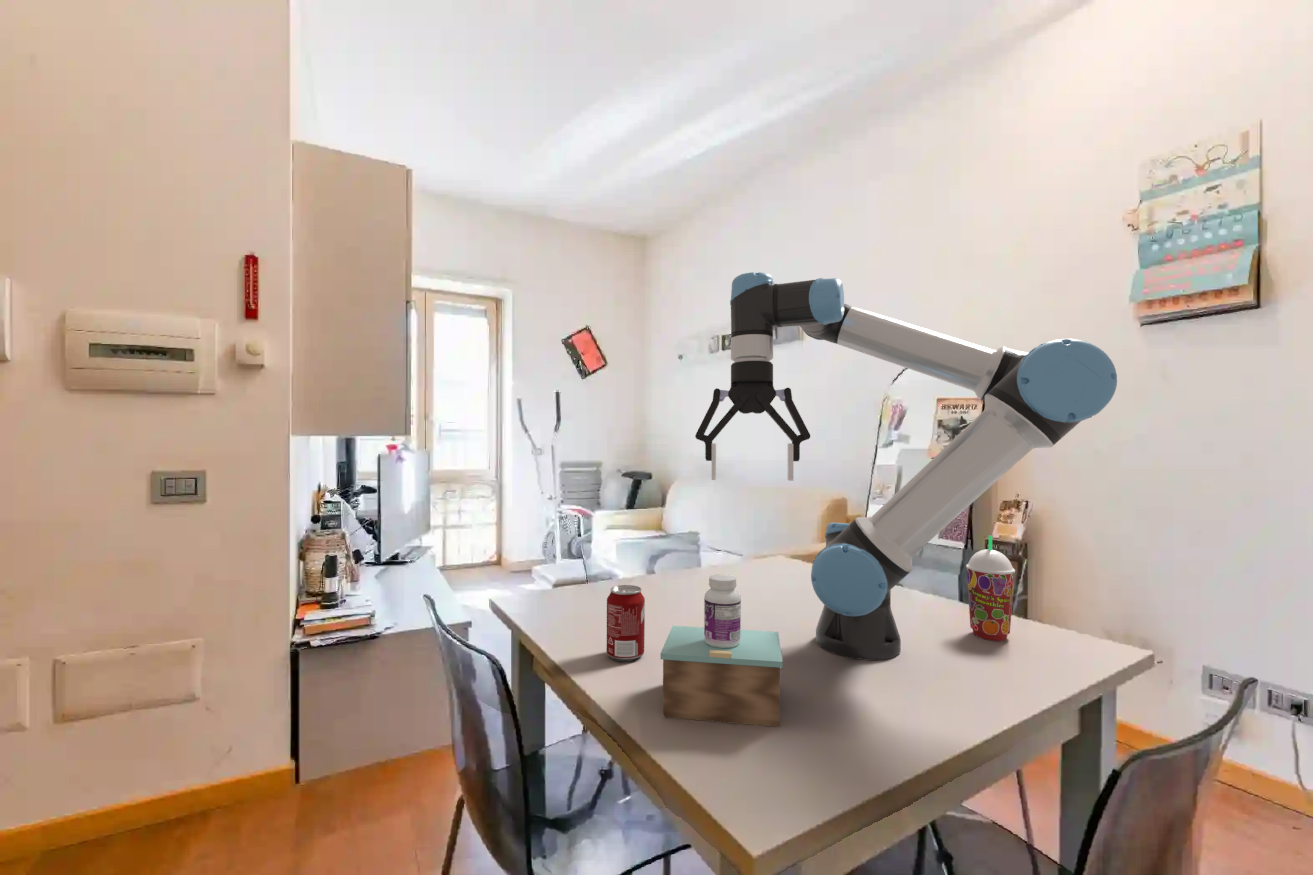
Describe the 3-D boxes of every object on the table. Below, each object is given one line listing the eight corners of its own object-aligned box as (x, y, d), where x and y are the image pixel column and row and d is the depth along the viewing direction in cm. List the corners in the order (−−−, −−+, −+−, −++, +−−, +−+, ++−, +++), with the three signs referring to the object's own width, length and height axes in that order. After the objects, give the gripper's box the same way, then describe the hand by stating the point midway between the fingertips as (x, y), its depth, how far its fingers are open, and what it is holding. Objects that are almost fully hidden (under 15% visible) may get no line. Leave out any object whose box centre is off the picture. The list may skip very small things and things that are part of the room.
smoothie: (968, 640, 112) (969, 537, 112) (963, 627, 120) (964, 531, 120) (1018, 646, 109) (1019, 540, 109) (1010, 632, 116) (1010, 534, 116)
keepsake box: (775, 688, 90) (776, 637, 90) (779, 726, 78) (780, 667, 78) (674, 681, 92) (674, 631, 92) (662, 716, 80) (663, 659, 80)
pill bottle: (701, 636, 87) (701, 572, 87) (735, 636, 87) (736, 572, 87) (707, 649, 81) (707, 581, 82) (744, 648, 82) (744, 580, 82)
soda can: (639, 664, 99) (640, 595, 99) (601, 661, 100) (602, 592, 100) (647, 650, 105) (648, 585, 105) (612, 647, 107) (612, 583, 107)
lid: (778, 636, 89) (778, 627, 89) (782, 667, 77) (782, 657, 77) (672, 630, 92) (672, 621, 92) (660, 659, 80) (660, 649, 80)
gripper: (820, 363, 106) (820, 478, 105) (684, 365, 109) (684, 477, 109) (826, 357, 98) (826, 481, 98) (680, 360, 101) (680, 480, 101)
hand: (751, 479), depth 103 cm, fingers open, 13 cm apart
